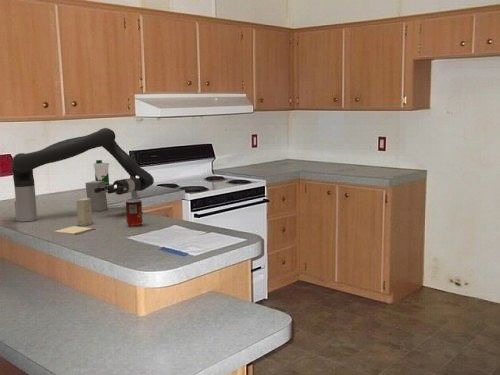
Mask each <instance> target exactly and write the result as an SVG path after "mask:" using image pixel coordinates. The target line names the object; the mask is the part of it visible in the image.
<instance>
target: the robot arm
mask: <svg viewBox="0 0 500 375" xmlns="http://www.w3.org/2000/svg"><path fill="white" fill-rule="evenodd" d="M101 147H102V148H103V149H104V150H106V151H107V153H109V154H110V155H111V156H112V157H113V158H114V159H115V160H116V161H117V162H118V164H119V165H120V166H121V168H123V169H124V171H125V172H126V173H127V174H128V175H129V177H130V178H122V179H116V180H115V181H114V182H113V183H111V184H109V185H105V186H98V188H95V189H94V190H95V193H99V192H105V193H106V194H108V195H110V194H116V195H118V196H120V195H121V196H122V195H124V194H129V193H131V192H136V191H137V192H138V191H139V192H141V191H144V190H146V189H147V188H149V187H151V186H152V185H154V183H155V181H154V180H155V179H154V176H153V175H152V174H151V173H150V172H148V171H147V170H145V169H143V168H142V167H141V166H140V165H139V164H138V163H137V162H136V161H135V159H133V158H132V157H131V156H130V155H129V154H128V153H127V152H126V151H124V150H123V149H122V148H121V147H120V146H119V144H118V143H117V141H116V133H115V131H114V130H112V129H110V128H108V127H104V128H101V129H99V130H97V131H95V132H92V133H89V134H86V135H82V136H77V137H72V138H67V139H64V140H61V141H58V142H55V143H52V144H51V145H49V146H46V147H43V149H39V150H36V151H32V152H28V153H25V152H24V153H19V152H18V153H17V154H15V155H14V156H13V157H12V160H11V167H12V168H11V169H12V177H13V178H12V179H13V186H14V198H15V201H14V209H15V220H16V221H17V222H20V223H21V222H22V223H23V222H32V221H36V220H38V212H37V211H38V210H37V198H36V189H35V188H36V187H35V179H34V178H35V177H34V170H35V169H37V168H39V167H42V166H45V165H47V164H53V163H56V162H60V161H64V160H67V159H71V158H74V157H76V156H79V155H81V154H83V153H84V154H85V152H88V151H90V150H92V149H96V148H101Z"/></svg>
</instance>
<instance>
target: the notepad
mask: <svg viewBox="0 0 500 375" xmlns="http://www.w3.org/2000/svg"><path fill="white" fill-rule="evenodd" d="M95 230H96V228H94V227H84V226H76V225H75V226H69V227H64V228H61V229H58V230H55V231H54V233H61V234H69V235H80V234H85V233H88V232H92V231H95Z"/></svg>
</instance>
